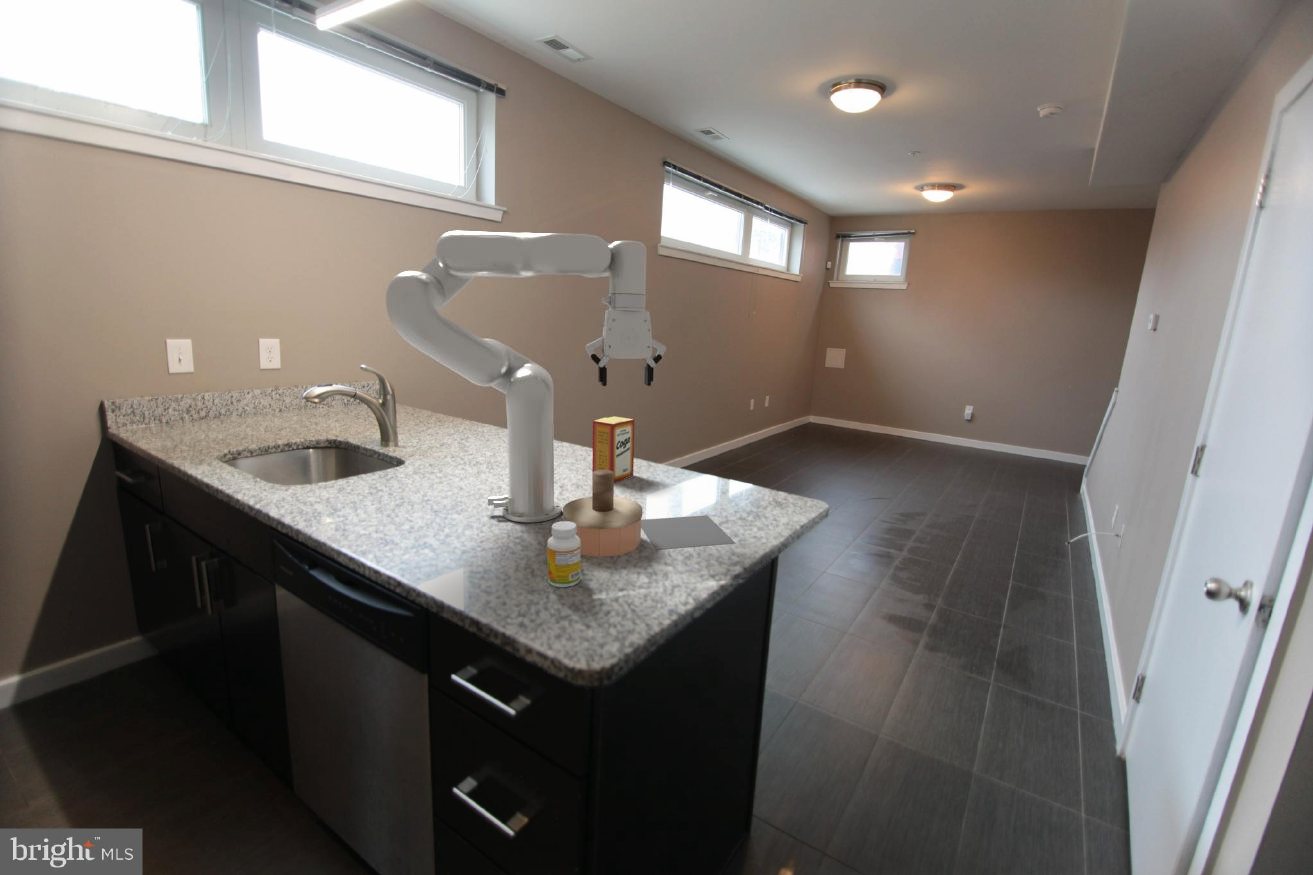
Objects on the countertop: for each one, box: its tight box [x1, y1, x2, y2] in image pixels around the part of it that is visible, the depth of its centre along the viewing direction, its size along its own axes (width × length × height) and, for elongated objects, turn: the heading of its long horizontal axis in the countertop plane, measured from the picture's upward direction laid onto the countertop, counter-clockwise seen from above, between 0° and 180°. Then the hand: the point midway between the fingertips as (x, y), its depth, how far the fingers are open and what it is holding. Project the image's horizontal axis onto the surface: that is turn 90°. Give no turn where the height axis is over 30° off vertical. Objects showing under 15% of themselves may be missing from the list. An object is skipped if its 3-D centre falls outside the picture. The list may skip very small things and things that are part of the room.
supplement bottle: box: [546, 520, 582, 588], centre depth 96 cm, size 5×5×10 cm
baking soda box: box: [591, 416, 635, 483], centre depth 156 cm, size 10×6×16 cm
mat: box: [641, 514, 736, 551], centre depth 119 cm, size 16×16×1 cm
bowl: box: [564, 518, 642, 558], centre depth 112 cm, size 14×14×6 cm
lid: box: [562, 470, 643, 529], centre depth 111 cm, size 15×15×8 cm
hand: (625, 385), depth 126 cm, fingers open, 9 cm apart
